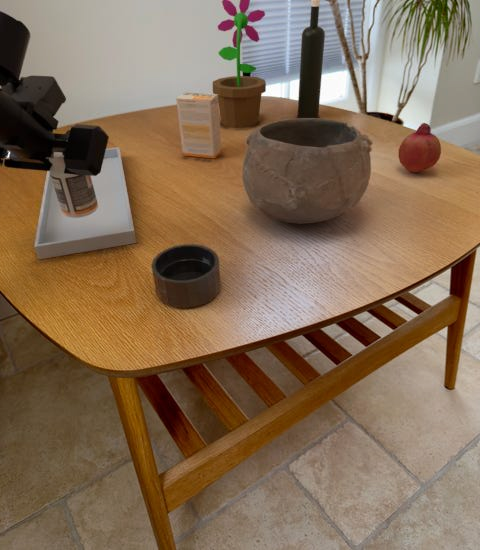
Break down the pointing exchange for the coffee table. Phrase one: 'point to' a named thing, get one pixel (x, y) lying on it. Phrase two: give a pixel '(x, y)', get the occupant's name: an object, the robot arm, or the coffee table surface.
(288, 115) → the coffee table surface
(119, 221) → the serving dish
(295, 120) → the clay pot
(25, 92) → the robot arm
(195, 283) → the charcoal bowl
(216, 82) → the flowerpot
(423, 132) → the fruit
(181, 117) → the supplement box
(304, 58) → the wine bottle
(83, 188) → the pill bottle
